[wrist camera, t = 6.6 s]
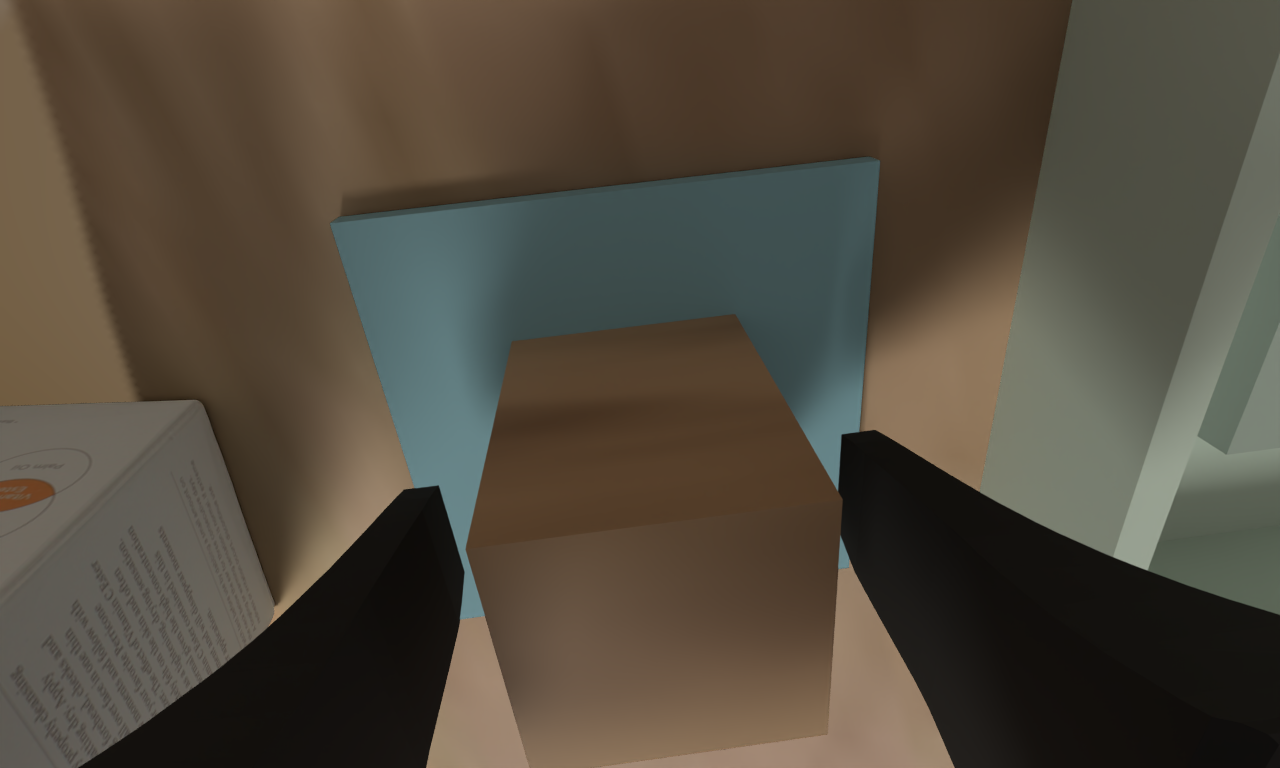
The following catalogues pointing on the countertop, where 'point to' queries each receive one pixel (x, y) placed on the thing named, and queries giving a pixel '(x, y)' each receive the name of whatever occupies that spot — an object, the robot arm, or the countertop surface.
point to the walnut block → (654, 547)
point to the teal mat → (612, 298)
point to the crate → (1154, 299)
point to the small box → (114, 572)
